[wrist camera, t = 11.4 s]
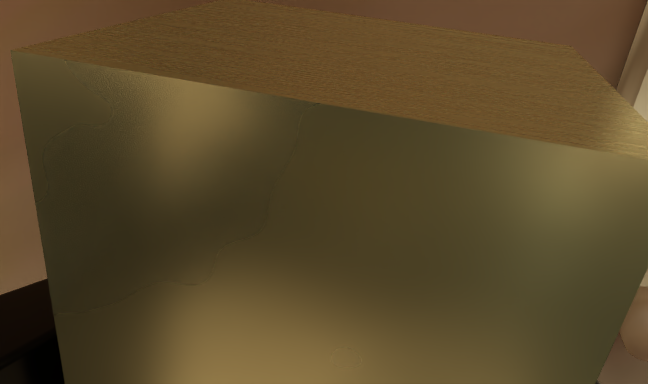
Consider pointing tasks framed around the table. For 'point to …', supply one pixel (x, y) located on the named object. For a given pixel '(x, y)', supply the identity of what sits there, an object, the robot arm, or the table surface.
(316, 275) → the tan rectangular block
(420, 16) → the table surface
